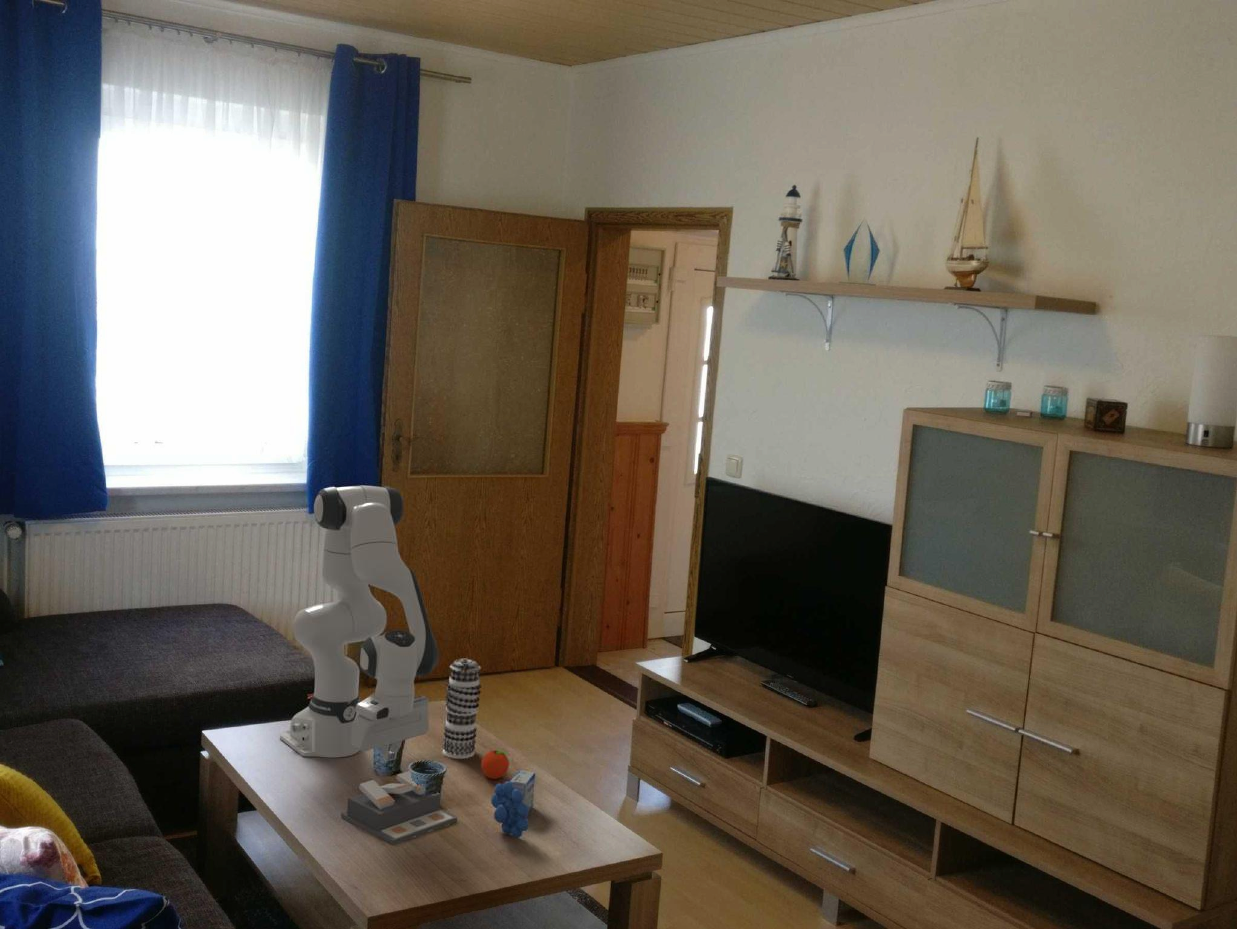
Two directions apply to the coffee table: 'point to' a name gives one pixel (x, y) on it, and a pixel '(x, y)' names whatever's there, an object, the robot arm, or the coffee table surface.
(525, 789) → the medicine box
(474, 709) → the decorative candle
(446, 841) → the coffee table surface
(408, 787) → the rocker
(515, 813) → the grapes
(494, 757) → the tomato
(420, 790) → the rocker
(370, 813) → the switch unit
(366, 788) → the block
